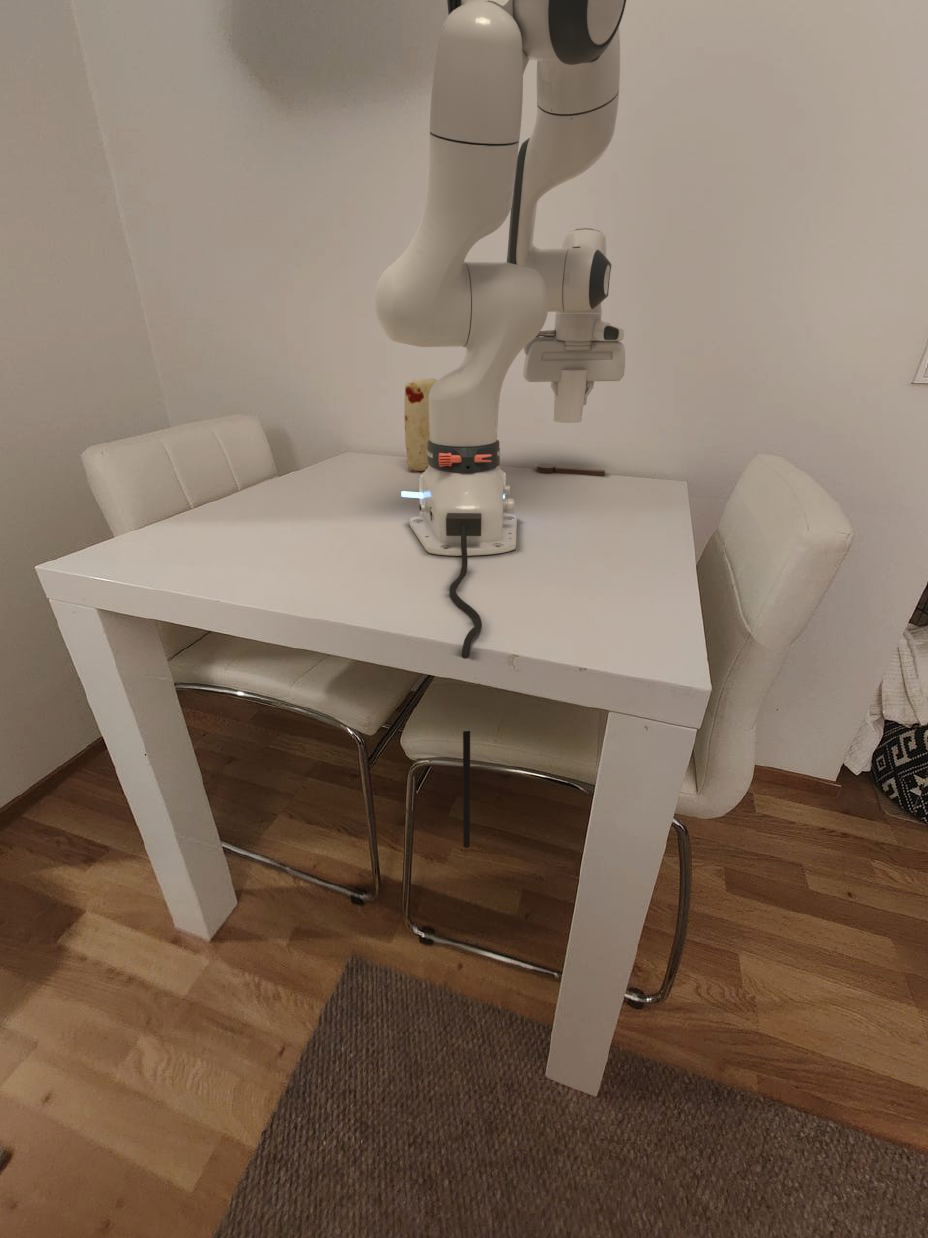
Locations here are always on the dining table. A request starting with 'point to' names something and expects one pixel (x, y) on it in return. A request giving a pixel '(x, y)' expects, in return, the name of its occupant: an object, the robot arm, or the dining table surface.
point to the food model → (417, 422)
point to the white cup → (570, 396)
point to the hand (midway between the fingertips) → (570, 404)
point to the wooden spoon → (568, 470)
